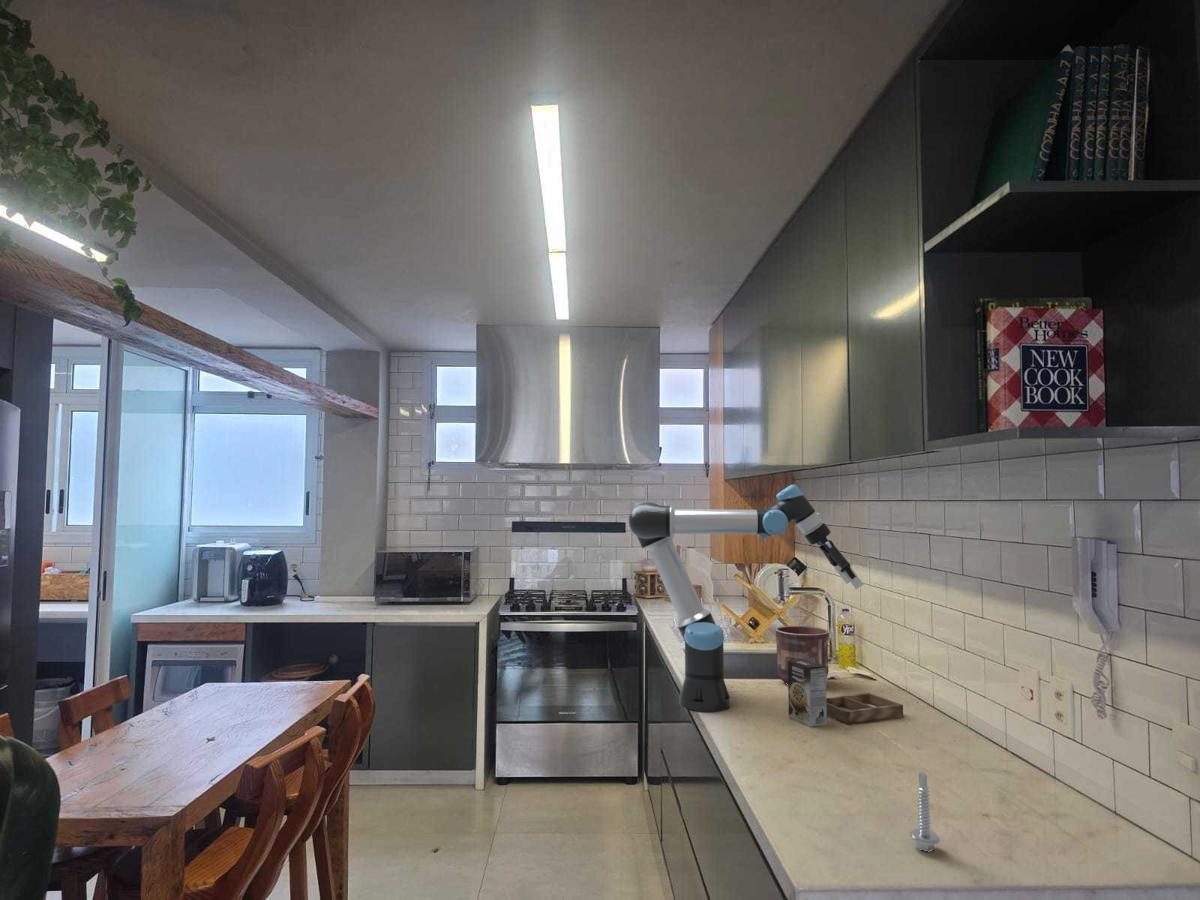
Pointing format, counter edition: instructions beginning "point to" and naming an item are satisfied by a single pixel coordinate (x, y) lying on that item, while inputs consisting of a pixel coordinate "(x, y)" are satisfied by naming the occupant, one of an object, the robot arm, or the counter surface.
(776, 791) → the counter surface
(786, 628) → the pottery
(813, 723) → the coffee box
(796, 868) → the counter surface
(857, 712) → the walnut crate
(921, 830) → the screw
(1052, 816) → the counter surface
